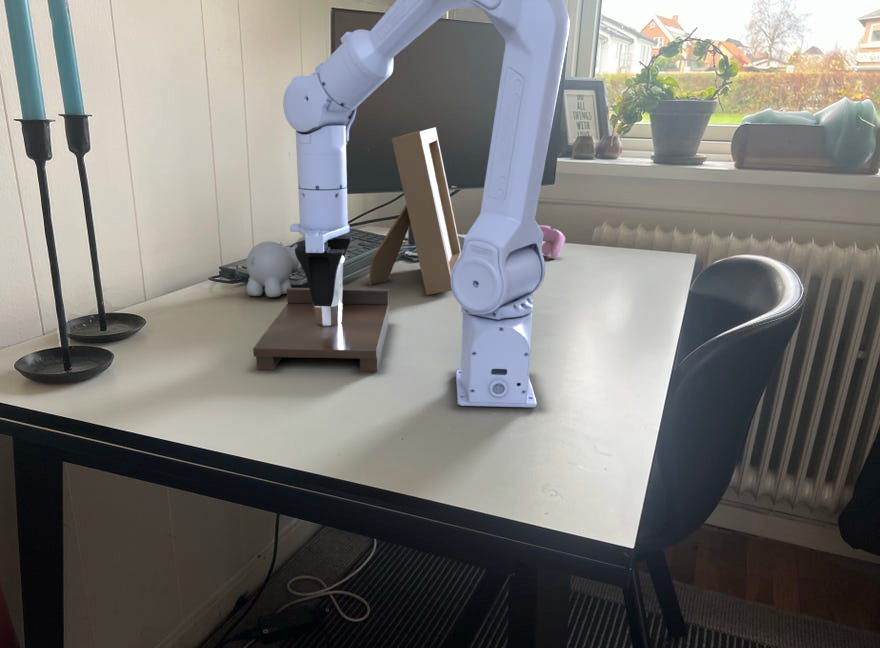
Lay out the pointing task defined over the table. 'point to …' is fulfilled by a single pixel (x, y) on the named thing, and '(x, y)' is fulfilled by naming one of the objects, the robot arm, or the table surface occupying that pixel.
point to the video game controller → (552, 241)
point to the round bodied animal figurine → (271, 269)
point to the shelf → (327, 330)
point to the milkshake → (333, 312)
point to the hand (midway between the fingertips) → (326, 299)
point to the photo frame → (421, 214)
